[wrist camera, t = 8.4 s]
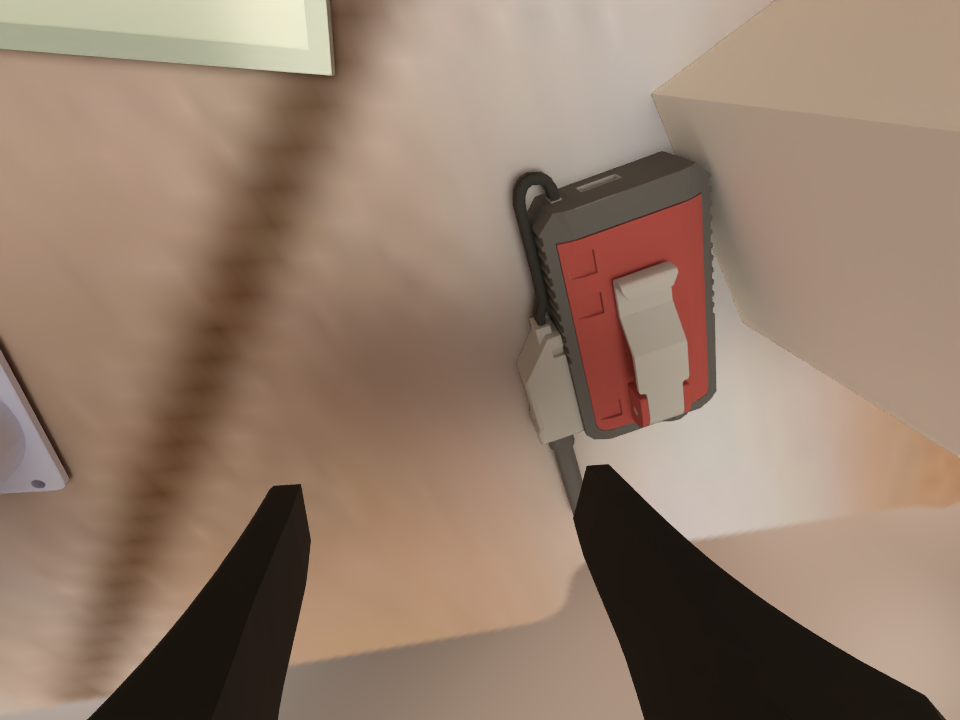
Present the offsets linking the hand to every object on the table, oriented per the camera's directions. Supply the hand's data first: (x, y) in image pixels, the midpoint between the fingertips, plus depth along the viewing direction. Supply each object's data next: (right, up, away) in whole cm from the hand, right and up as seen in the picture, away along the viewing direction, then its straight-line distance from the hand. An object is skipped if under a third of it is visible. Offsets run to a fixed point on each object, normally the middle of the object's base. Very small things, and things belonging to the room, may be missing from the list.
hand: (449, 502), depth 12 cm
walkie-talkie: (+7, +4, +11) cm, 14 cm away
